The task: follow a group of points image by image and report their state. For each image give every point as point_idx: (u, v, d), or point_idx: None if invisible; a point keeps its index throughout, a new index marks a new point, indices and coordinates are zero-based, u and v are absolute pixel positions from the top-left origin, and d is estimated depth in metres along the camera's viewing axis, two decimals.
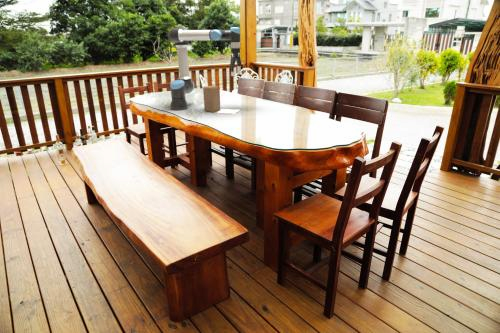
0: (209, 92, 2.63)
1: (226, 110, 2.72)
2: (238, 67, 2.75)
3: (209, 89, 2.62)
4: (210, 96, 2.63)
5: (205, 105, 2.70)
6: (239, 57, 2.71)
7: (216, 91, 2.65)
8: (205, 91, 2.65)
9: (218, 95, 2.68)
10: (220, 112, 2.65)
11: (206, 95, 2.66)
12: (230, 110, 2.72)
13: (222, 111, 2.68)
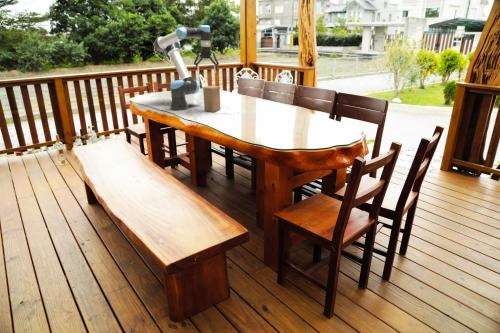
0: (209, 92, 2.63)
1: (226, 110, 2.72)
2: (214, 66, 2.66)
3: (209, 89, 2.62)
4: (210, 96, 2.63)
5: (205, 105, 2.70)
6: (213, 56, 2.62)
7: (216, 91, 2.65)
8: (205, 91, 2.65)
9: (218, 95, 2.68)
10: (220, 112, 2.65)
11: (206, 95, 2.66)
12: (230, 110, 2.72)
13: (222, 111, 2.68)
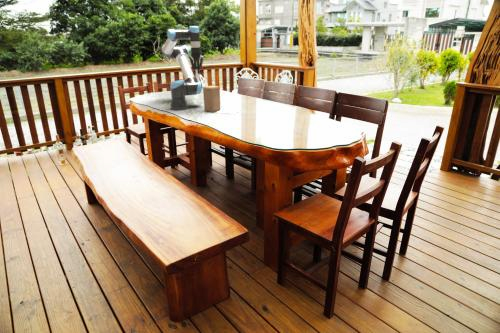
0: (209, 92, 2.63)
1: (226, 110, 2.72)
2: None
3: (209, 89, 2.62)
4: (210, 96, 2.63)
5: (205, 105, 2.70)
6: (200, 59, 2.60)
7: (216, 91, 2.65)
8: (205, 91, 2.65)
9: (218, 95, 2.68)
10: (220, 112, 2.65)
11: (206, 95, 2.66)
12: (230, 110, 2.72)
13: (222, 111, 2.68)
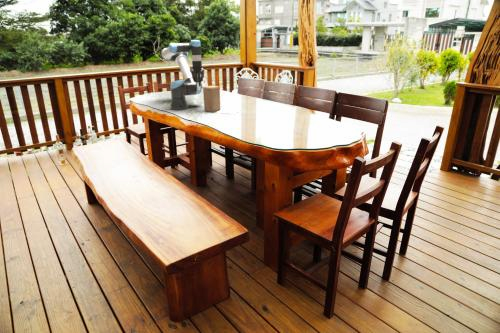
0: (209, 92, 2.63)
1: (226, 110, 2.72)
2: None
3: (209, 89, 2.62)
4: (210, 96, 2.63)
5: (205, 105, 2.70)
6: None
7: (216, 91, 2.65)
8: (205, 91, 2.65)
9: (218, 95, 2.68)
10: (220, 112, 2.65)
11: (206, 95, 2.66)
12: (230, 110, 2.72)
13: (222, 111, 2.68)
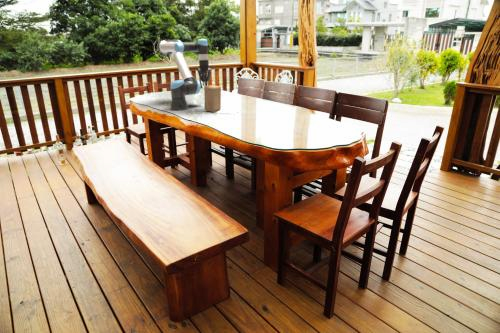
0: (210, 92, 2.62)
1: (226, 110, 2.72)
2: None
3: (211, 89, 2.61)
4: (211, 96, 2.63)
5: (206, 105, 2.69)
6: (208, 71, 2.61)
7: (217, 91, 2.65)
8: (206, 91, 2.64)
9: (219, 95, 2.68)
10: (220, 112, 2.65)
11: (207, 95, 2.65)
12: (230, 110, 2.72)
13: (222, 111, 2.68)
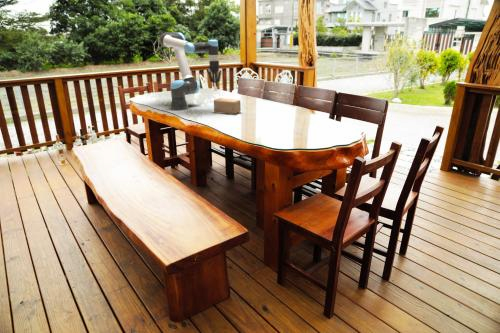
0: (230, 110, 2.59)
1: None
2: None
3: (233, 111, 2.58)
4: (227, 111, 2.60)
5: (218, 103, 2.62)
6: None
7: None
8: (230, 105, 2.57)
9: None
10: None
11: (227, 105, 2.59)
12: None
13: None
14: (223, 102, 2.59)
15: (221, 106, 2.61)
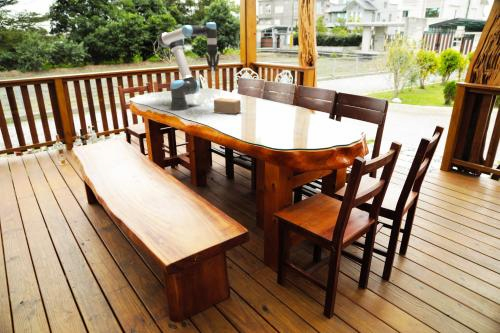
0: (230, 110, 2.59)
1: None
2: None
3: (233, 111, 2.58)
4: (227, 111, 2.60)
5: (218, 103, 2.62)
6: None
7: None
8: (230, 105, 2.57)
9: None
10: (220, 112, 2.65)
11: (227, 105, 2.59)
12: None
13: None
14: (223, 102, 2.59)
15: (221, 106, 2.61)
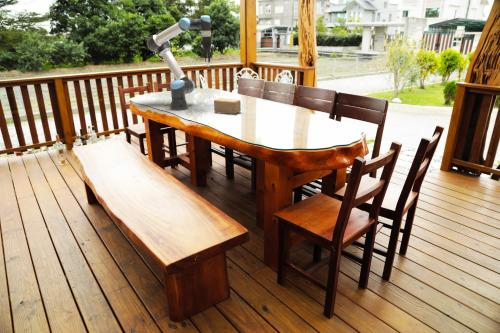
0: (230, 110, 2.59)
1: None
2: None
3: (233, 111, 2.58)
4: (227, 111, 2.61)
5: (218, 103, 2.62)
6: (211, 48, 2.67)
7: None
8: (230, 105, 2.57)
9: None
10: (220, 112, 2.65)
11: (227, 105, 2.59)
12: None
13: None
14: (223, 102, 2.59)
15: (221, 106, 2.61)
